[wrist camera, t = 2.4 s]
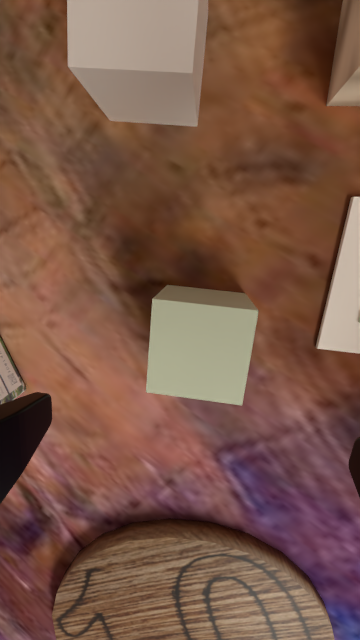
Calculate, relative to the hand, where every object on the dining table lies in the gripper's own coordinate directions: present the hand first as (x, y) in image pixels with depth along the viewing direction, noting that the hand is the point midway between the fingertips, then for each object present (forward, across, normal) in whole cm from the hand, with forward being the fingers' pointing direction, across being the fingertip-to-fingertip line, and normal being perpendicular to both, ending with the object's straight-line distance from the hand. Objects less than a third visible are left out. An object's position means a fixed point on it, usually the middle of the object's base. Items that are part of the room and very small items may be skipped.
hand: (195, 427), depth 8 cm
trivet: (+11, -2, +29) cm, 31 cm away
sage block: (+11, 0, 0) cm, 11 cm away
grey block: (+11, +4, -14) cm, 18 cm away
